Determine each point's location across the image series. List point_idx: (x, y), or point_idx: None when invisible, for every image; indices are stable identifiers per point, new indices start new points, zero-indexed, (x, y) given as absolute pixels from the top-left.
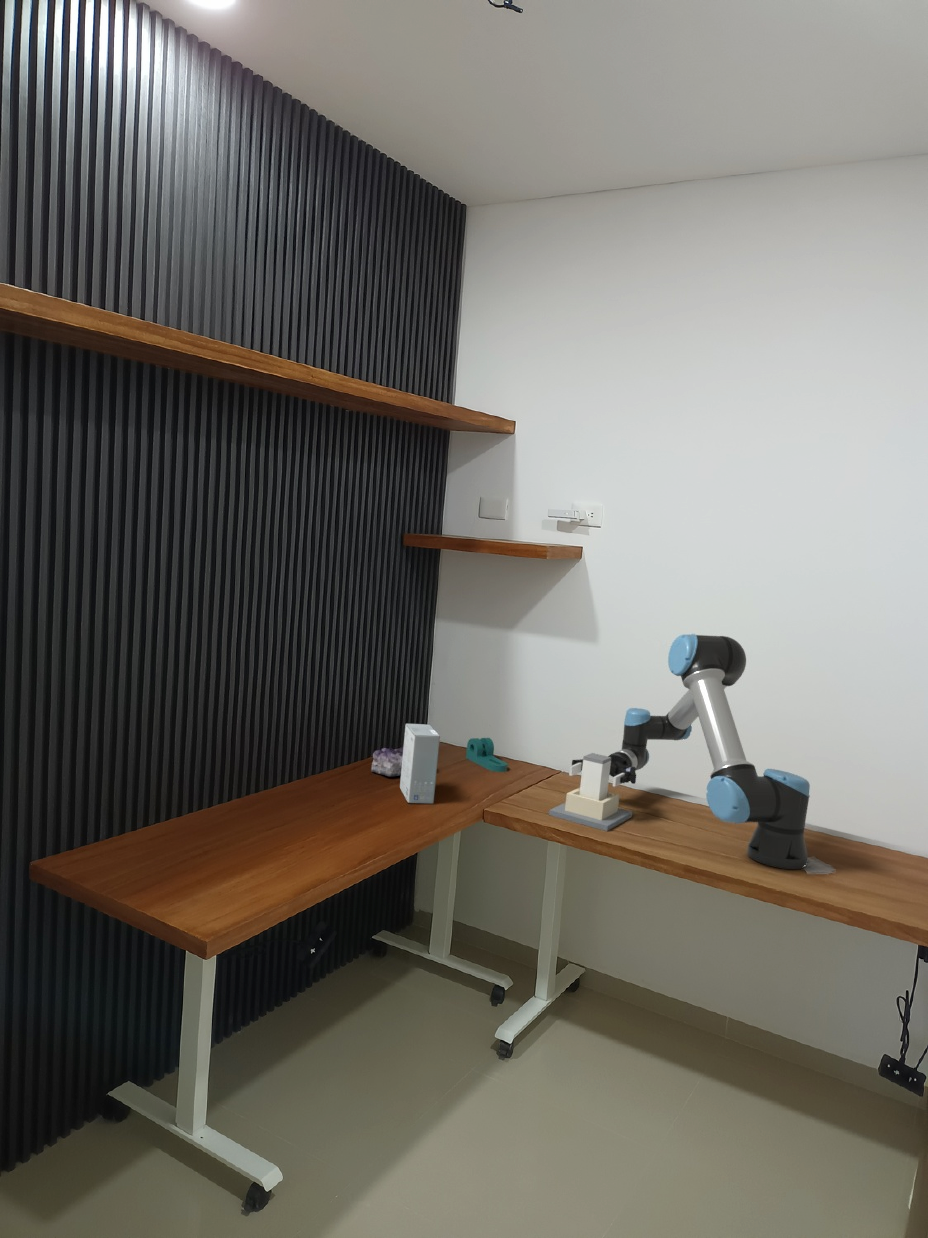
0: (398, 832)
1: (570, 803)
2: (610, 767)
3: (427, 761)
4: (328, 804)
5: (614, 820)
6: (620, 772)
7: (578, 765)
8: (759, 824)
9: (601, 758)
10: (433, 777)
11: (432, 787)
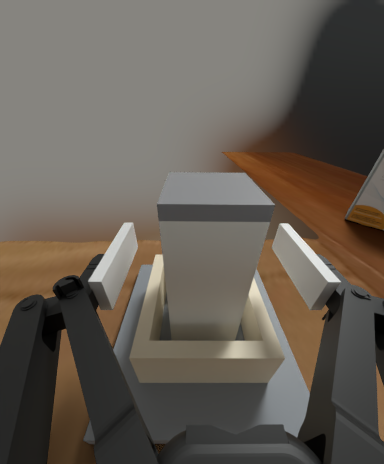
0: (274, 185)
1: None
2: (220, 432)
3: (374, 166)
4: (352, 189)
5: (134, 298)
6: (118, 366)
7: (305, 259)
8: None
9: (186, 180)
10: (362, 188)
11: (355, 200)
